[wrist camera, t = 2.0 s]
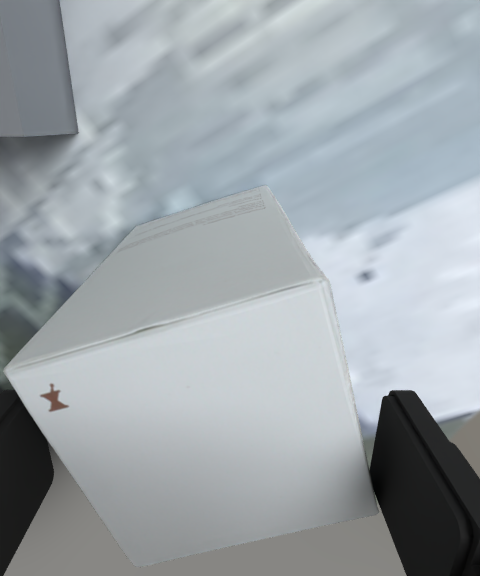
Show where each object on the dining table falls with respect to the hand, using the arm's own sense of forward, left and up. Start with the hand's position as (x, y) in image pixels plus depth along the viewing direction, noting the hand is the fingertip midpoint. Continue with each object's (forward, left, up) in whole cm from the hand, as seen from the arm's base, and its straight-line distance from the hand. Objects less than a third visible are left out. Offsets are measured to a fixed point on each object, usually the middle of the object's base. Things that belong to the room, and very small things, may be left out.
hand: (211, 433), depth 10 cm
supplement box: (-1, 0, -12) cm, 12 cm away
